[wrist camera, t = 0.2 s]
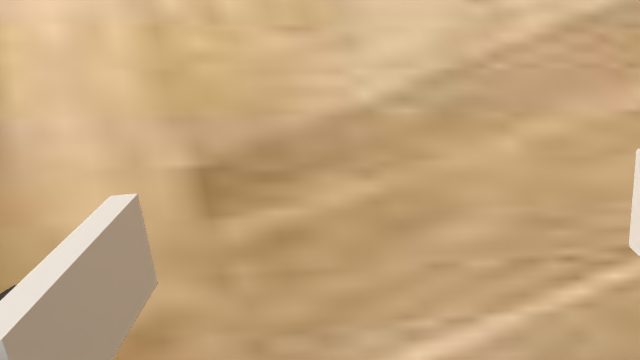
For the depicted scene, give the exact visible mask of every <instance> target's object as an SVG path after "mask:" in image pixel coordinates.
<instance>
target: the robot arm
mask: <svg viewBox="0 0 640 360" xmlns="http://www.w3.org/2000/svg"><path fill="white" fill-rule="evenodd" d="M629 247H630V248H631V249H632V250H633V251H635V252H636V253H637V254H638V255H639V256H640V149H637V151H636V163H635V176H634V188H633V201H632V213H631V226H630V238H629ZM157 284H158V282H157V278H156V273H155V269H154V264H153V260H152V255H151V251H150V246H149V242H148V237H147V233H146V228H145V224H144V219H143V215H142V211H141V206H140V202H139V197H138V194H128V195H117V196H110V197H109V198H108V199H107V200H106V201H105V202H104V203H102V204H101V205H100V206H99V207H98V208H97V209H96V210H95V211H94V212H93V213H92V214H91V215H90V216H89V217H88V218H87V219H86V220H85V221H84V222H83V223H81V224H80V225H79V226H78V227H77V228H76V229H75V230H74V231H73V232H72V233H71V234H70V235H69V236H68V237H67V238H66V239H65V240H64V241H63V242H62V243H60V244H59V245H58V246H57V247H56V248H55V249H54V250H53V251H52V252H51V253H50V254H49V255H48V256H47V257H46V258H45V259H44V260H43V261H42V262H41V263H39V264H38V265H37V266H36V267H35V268H34V269H33V270H32V271H31V272H30V273H29V274H28V275H27V276H26V277H25V278H24V279H23V280H22V281H21V282H20V283H18V284H17V285H14V286H13V287H11V288H9V289H8V290H6V291H4V292H2V293H1V294H0V360H113V358H114V356H115V355H116V353H117V351H118V349H119V348H120V346H121V344H122V343H123V341H124V339H125V338H126V336H127V334H128V333H129V331H130V329H131V328H132V326H133V324H134V322H135V321H136V319H137V317H138V316H139V314H140V312H141V311H142V309H143V307H144V306H145V304H146V302H147V301H148V299H149V297H150V296H151V294H152V292H153V290H154V289H155V287H156V285H157Z"/></svg>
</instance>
